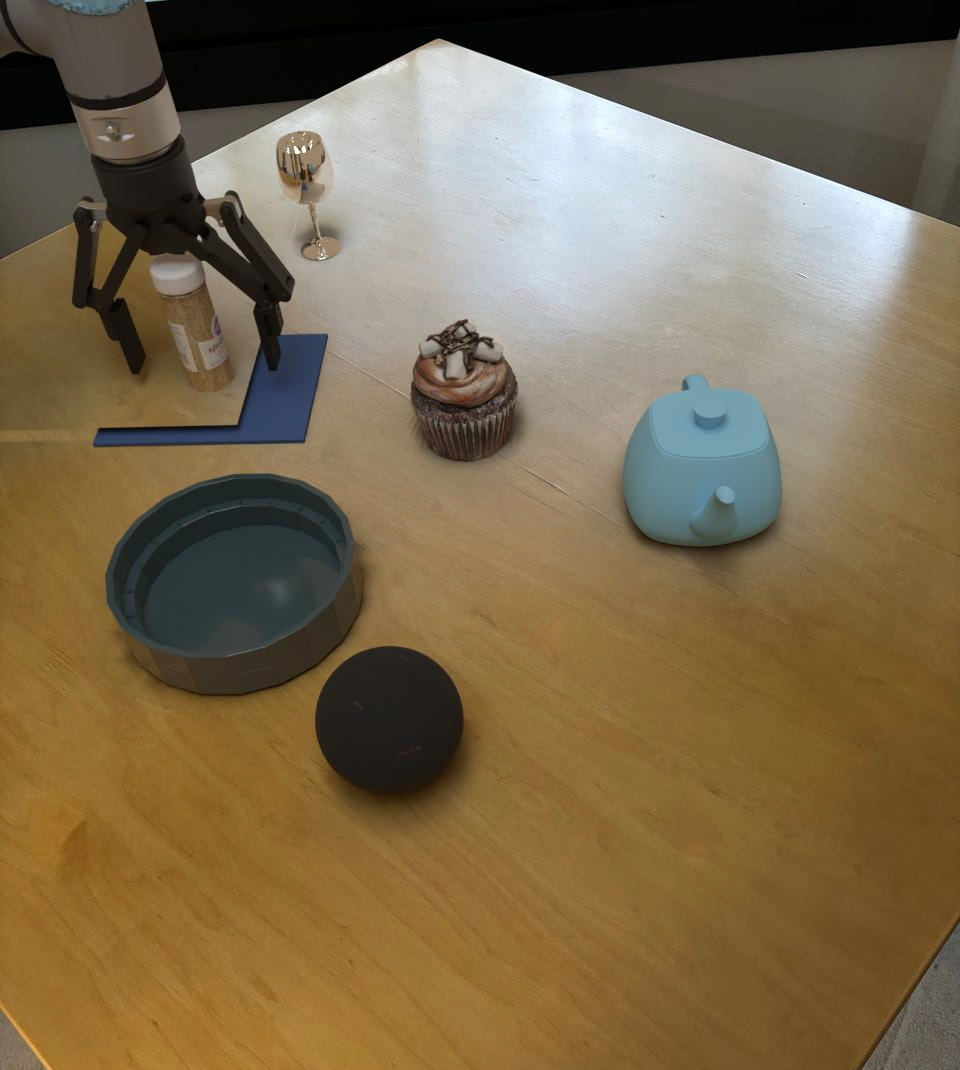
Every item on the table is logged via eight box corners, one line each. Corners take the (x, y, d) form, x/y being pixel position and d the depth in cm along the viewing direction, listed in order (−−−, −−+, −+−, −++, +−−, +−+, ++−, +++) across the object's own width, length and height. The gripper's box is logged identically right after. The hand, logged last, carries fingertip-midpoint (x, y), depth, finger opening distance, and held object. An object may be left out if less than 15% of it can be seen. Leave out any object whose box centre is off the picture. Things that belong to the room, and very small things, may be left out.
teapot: (642, 502, 76) (617, 346, 87) (635, 601, 84) (613, 447, 95) (822, 491, 75) (774, 336, 86) (797, 591, 83) (756, 438, 95)
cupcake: (393, 438, 98) (377, 346, 90) (466, 384, 102) (457, 292, 94) (469, 483, 94) (460, 391, 86) (542, 426, 98) (539, 333, 90)
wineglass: (357, 242, 119) (338, 135, 109) (325, 268, 116) (303, 161, 107) (316, 229, 121) (294, 123, 112) (284, 255, 118) (259, 149, 109)
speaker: (379, 682, 81) (359, 596, 73) (494, 734, 77) (485, 649, 69) (301, 784, 76) (270, 702, 68) (420, 845, 72) (402, 766, 64)
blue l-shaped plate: (93, 447, 100) (92, 443, 100) (135, 342, 110) (134, 338, 110) (304, 442, 98) (303, 439, 98) (328, 336, 108) (327, 333, 108)
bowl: (98, 697, 82) (75, 657, 78) (157, 517, 94) (139, 475, 90) (347, 697, 80) (336, 656, 76) (375, 514, 92) (366, 471, 88)
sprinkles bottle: (239, 396, 103) (201, 271, 92) (192, 405, 102) (148, 281, 92) (235, 367, 105) (198, 243, 95) (189, 376, 105) (147, 252, 95)
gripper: (-30, 173, 84) (70, 392, 101) (280, 160, 82) (329, 386, 99) (1, 126, 88) (91, 342, 105) (295, 113, 86) (339, 336, 103)
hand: (206, 364), depth 102 cm, fingers open, 12 cm apart
